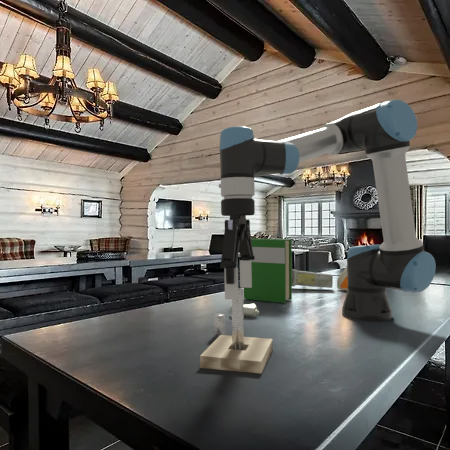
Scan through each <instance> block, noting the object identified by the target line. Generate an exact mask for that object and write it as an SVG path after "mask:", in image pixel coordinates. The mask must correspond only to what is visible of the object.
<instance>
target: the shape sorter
mask: <svg viewBox="0 0 450 450" xmlns="http://www.w3.org/2000/svg"><path fill="white" fill-rule="evenodd" d="M336 286H337V290H343V291H348V279H347V265H346V267H345V268H344V270H343V271H342V272H341V273H340V274H339V275H338V277H337V282H336Z"/></svg>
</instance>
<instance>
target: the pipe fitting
mask: <svg viewBox="0 0 450 450" xmlns="http://www.w3.org/2000/svg"><path fill="white" fill-rule="evenodd" d="M230 314H231V315H232V305H231V306H230ZM259 314H260V311H259V309H258V308H257V305H256V304H255V303H254V302H253V303H249V304H244V317H250V318H256V316H258V315H259Z"/></svg>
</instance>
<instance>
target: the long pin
mask: <svg viewBox="0 0 450 450" xmlns="http://www.w3.org/2000/svg"><path fill="white" fill-rule="evenodd" d="M244 305H245V303H244V288H242V287H238V300H231V306H232V314H231V336H232V349H233V350H244V337H245V335H244V334H245V331H244V330H245V327H244V326H245V324H244V322H245V318H244V317H245V316H244Z"/></svg>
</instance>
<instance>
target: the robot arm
mask: <svg viewBox="0 0 450 450" xmlns="http://www.w3.org/2000/svg"><path fill="white" fill-rule="evenodd" d="M417 131H418V120H417V116H416V114H415V112H414V109H413V108H412V107H411V106H410V105H409V104H408V103H407V102H406V101H403V100H402V99H390V100H386V101H383V102H379V103H376V104H374V105H372V106H368V107H366V108H363V109H360V110H356V111H354V112H351V113H349V114H347V115H345V116H343V117H341V118H339V119H336V120H334V121H331V122H329V123H325V124H324V125H322V127H320V128H319V129H316V130H313V131H308V132H305V133H302V134H298V135H295V136H290V137H287V138H284V139H279V140H267V139H266V140H265V139H258V138H255V135H254V130H253V129H252V128H251V127H248V126H241V125H237V126H230V127H226V128H224V129H222V130H221V132H220V136H219V137H220V138H219V149H218V151H219V160H220V161H219V164H220V165H219V166H220V168H219V169H220V183H219V184H218V188H219V189H220V196H221V197H222V199H221V201H220V213H221V216H223V217H229V219H225V220H224V233H223V242H222V249H221V250H222V251H221V257H220V258H221V260H220V263H219V268H220V269H223V270H224V273H223V274H224V300H230V301H232V300H238V288H242V289H244V288H252V269H251V260H254V259H255V256H253V249H252V241H251V238H252V235H251V224H250V223H251V221H250V219H249V218H248V219H247V217H246V216H254V215H255V213H256V211H255V210H256V207H255V206H256V205H255V204H256V203H255V202H256V201H255V199H254V198H253V197H254V196H255V195H256V194H255V193H256V190H255V178H258V177H265V176H268V175H269V176H270V175H277V174H278V175H281V176H282V175H290V174H293V173H294V172H295V171H296V170H297V169H298V166H299V164H300V163H301V162H304V161H308V160H312V159H314V158H317V157H321V156H324V155H329V156H335V155H339V154H343V153H350V152H358V151H365V156H366V157H367V158H368V159H370V160H371V161H372V165H373V166H372V168H373V173H374V174H373V175H374V180H375V181H374V182H375V189H376V195H377V203H378V209H379V216H380V223H381V229H382V230H381V232H382V237H383V238H382V239H383V242H382V243H381V244H369V245H355V246H351V247H348V248H349V249H348V250H347V259H346V266H347V279H348V290H347V291H346V292H347V293H346V296H345V298H344V302H343V304H342V308H341V314H342V316H343V317H344V318H346V319H350V320H353V321H358V322H359V321H361V322H371V323H372V322H378V321H379V322H386V321H387V322H388V321H390V320H392V319H393V312H392V308H391V305H390V302H389V299H388V296H387V289H392V290H397V291H402V292H404V293H405V292H406V293H422V292H423V291H425V290H427V289H428V288H429V287H430V285H431V284H432V282H433V280H434V277H435V274H436V268H437V266H436V260H435V258H434V256H433V254H431V253H429V252H427V251H425V250H424V243H423V242H422V241H421V240H420V239H418V238H417V234H416V227H415V219H414V213H413V203H412V197H411V188H410V183H409V182H410V181H409V174H408V167H407V166H408V165H407V159H406V153H407V152H408V150H410V148H411V144H410V143H411V142H410V141H411V140H413V138H415V136H416V134H417ZM239 257H240V260H239V267H238V266H237V265H238V258H239Z"/></svg>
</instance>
